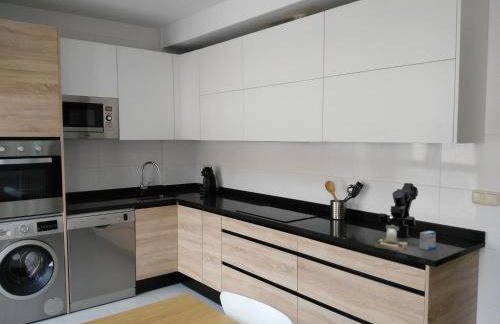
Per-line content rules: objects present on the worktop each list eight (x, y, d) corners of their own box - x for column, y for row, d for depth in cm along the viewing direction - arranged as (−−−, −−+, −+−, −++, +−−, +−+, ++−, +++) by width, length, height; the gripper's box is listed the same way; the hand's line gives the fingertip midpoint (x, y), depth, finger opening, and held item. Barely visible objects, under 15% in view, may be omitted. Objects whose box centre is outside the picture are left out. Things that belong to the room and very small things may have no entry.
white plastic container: (386, 241, 208) (387, 225, 210) (397, 242, 204) (399, 226, 206) (383, 239, 204) (385, 223, 206) (395, 241, 200) (397, 225, 202)
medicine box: (427, 250, 199) (428, 233, 198) (419, 248, 202) (419, 232, 202) (435, 248, 203) (436, 231, 203) (427, 246, 207) (427, 230, 207)
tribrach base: (381, 242, 214) (381, 233, 214) (407, 246, 206) (408, 236, 206) (374, 246, 204) (375, 237, 204) (402, 251, 197) (402, 241, 196)
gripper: (379, 199, 218) (373, 221, 209) (415, 202, 207) (410, 225, 198) (383, 211, 224) (377, 233, 216) (417, 214, 214) (412, 238, 205)
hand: (393, 232), depth 209 cm, fingers closed
